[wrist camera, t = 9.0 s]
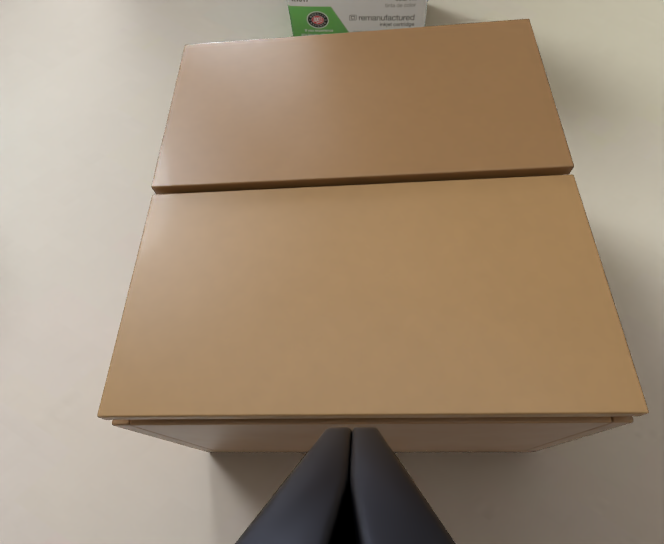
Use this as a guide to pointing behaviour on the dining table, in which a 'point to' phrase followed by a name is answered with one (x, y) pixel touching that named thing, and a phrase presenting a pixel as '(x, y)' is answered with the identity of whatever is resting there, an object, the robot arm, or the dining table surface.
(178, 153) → the carton
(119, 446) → the dining table surface
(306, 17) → the ink box
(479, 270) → the flap
